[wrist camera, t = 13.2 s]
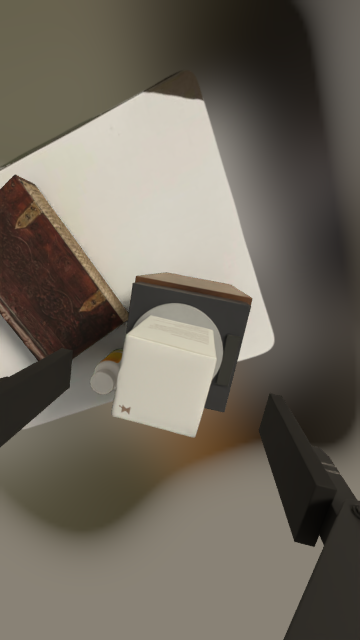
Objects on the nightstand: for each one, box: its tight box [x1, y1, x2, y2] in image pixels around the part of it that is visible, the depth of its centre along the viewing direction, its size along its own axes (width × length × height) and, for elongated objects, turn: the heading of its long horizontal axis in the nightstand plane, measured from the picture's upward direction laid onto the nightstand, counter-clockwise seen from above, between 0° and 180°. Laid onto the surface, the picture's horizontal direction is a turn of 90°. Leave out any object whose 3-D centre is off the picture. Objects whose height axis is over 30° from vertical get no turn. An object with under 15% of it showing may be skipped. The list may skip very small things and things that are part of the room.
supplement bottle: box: [90, 349, 123, 394], centre depth 44 cm, size 5×5×10 cm
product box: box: [111, 315, 217, 437], centre depth 19 cm, size 6×6×7 cm
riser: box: [135, 272, 252, 306], centre depth 35 cm, size 12×12×20 cm
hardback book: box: [0, 175, 129, 361], centre depth 44 cm, size 29×19×5 cm, turn 35°
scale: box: [126, 282, 251, 412], centre depth 24 cm, size 11×11×3 cm
